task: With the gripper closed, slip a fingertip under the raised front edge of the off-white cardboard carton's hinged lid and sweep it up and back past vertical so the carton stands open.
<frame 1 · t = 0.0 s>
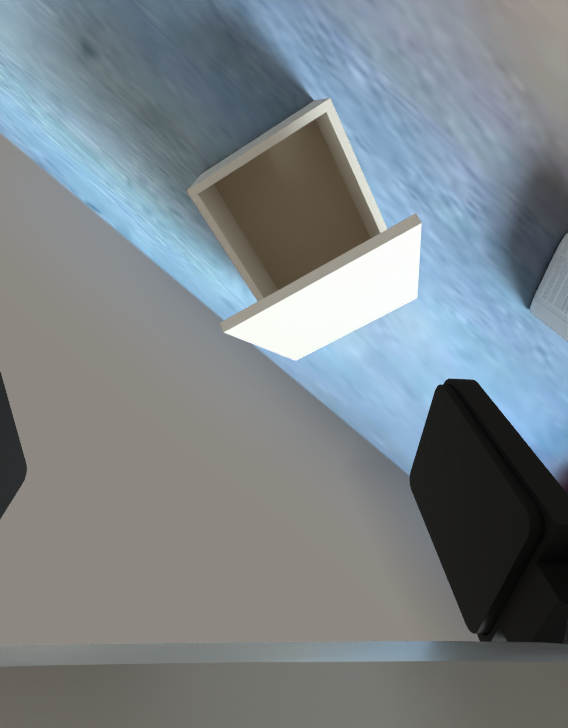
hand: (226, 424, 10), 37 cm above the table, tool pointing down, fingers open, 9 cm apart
carton: (297, 216, 44), on the table
carton lid: (338, 308, 31), point 17 cm above the table, hinge at 50.0°
photo printer: (558, 274, 49), on the table
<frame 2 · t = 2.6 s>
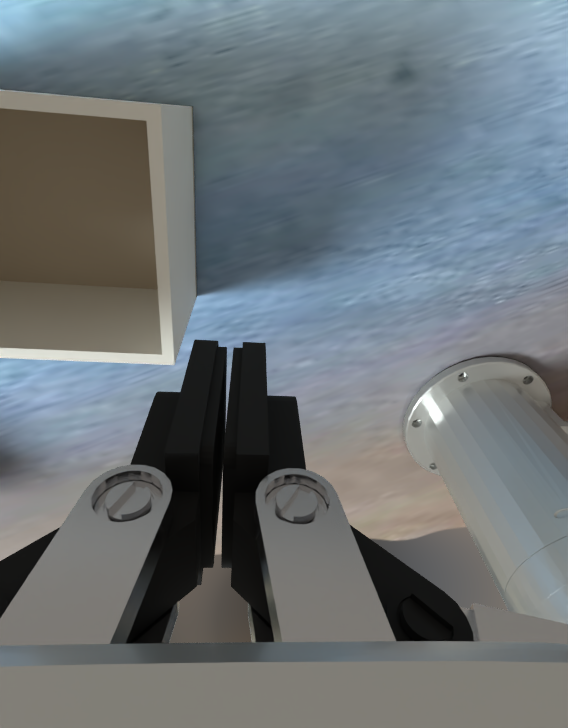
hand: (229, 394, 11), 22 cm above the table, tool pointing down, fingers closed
carton: (69, 202, 28), on the table
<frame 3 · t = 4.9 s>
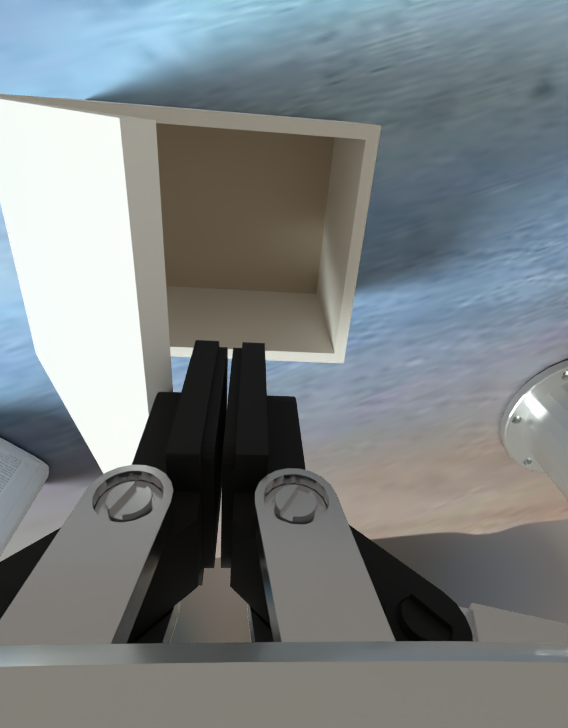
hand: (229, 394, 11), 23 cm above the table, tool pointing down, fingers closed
carton: (217, 210, 30), on the table
carton lid: (64, 298, 15), point 17 cm above the table, hinge at 55.0°, touching gripper
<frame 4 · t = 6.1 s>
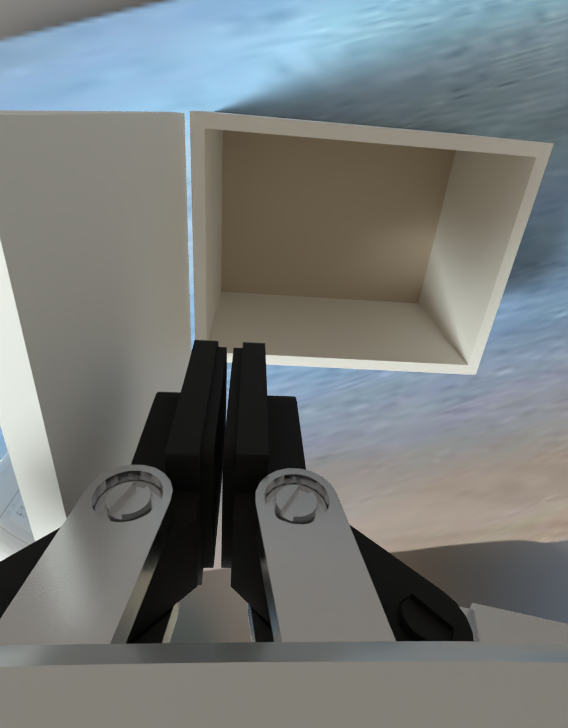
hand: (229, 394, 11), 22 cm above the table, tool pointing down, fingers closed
carton: (329, 221, 31), on the table
carton lid: (147, 322, 14), point 18 cm above the table, hinge at 88.6°, touching gripper
photo printer: (81, 452, 40), on the table
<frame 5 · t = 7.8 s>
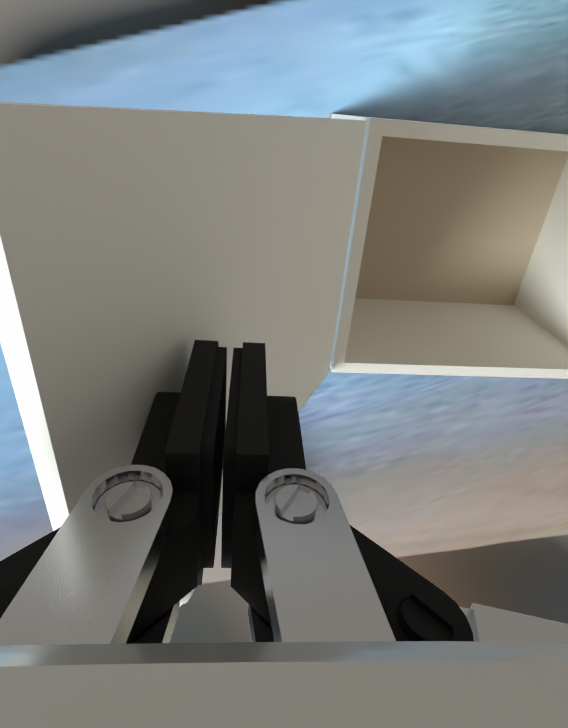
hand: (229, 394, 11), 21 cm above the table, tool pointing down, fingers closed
carton: (433, 224, 30), on the table
carton lid: (259, 324, 14), point 17 cm above the table, hinge at 119.2°, touching gripper
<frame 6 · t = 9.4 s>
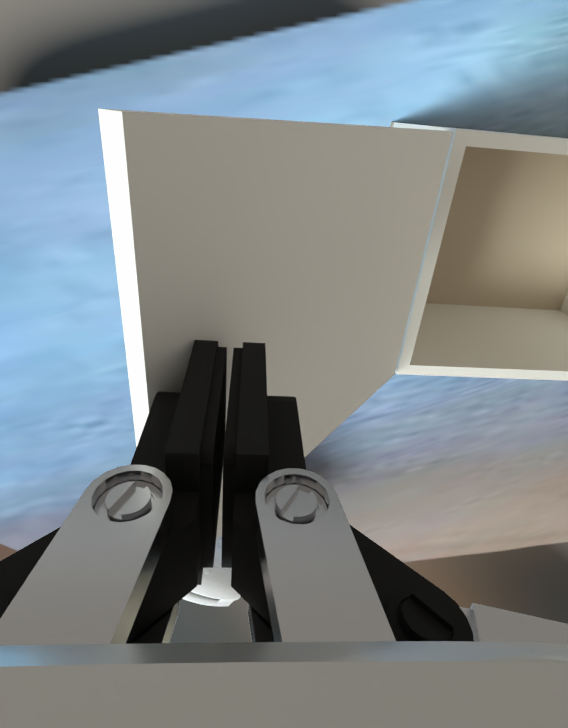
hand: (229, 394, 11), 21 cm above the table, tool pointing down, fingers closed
carton: (485, 230, 31), on the table
carton lid: (328, 314, 16), point 16 cm above the table, hinge at 129.8°, touching gripper
photo printer: (200, 460, 40), on the table
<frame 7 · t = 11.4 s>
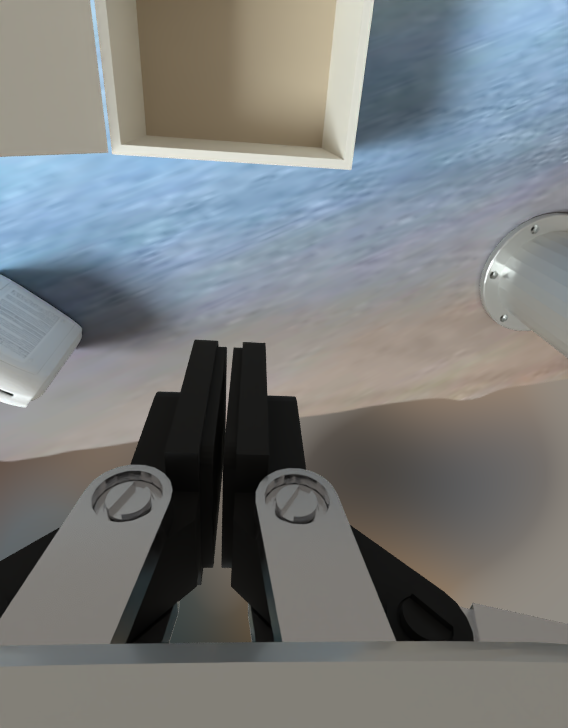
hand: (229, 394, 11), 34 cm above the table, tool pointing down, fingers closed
carton: (236, 65, 35), on the table
photo printer: (33, 310, 44), on the table
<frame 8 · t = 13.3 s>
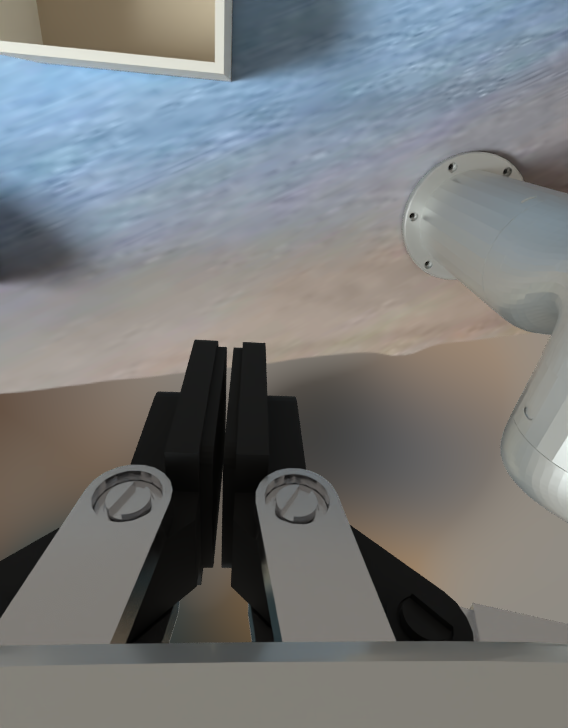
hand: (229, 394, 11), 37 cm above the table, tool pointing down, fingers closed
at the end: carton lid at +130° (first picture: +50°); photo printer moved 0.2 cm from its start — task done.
